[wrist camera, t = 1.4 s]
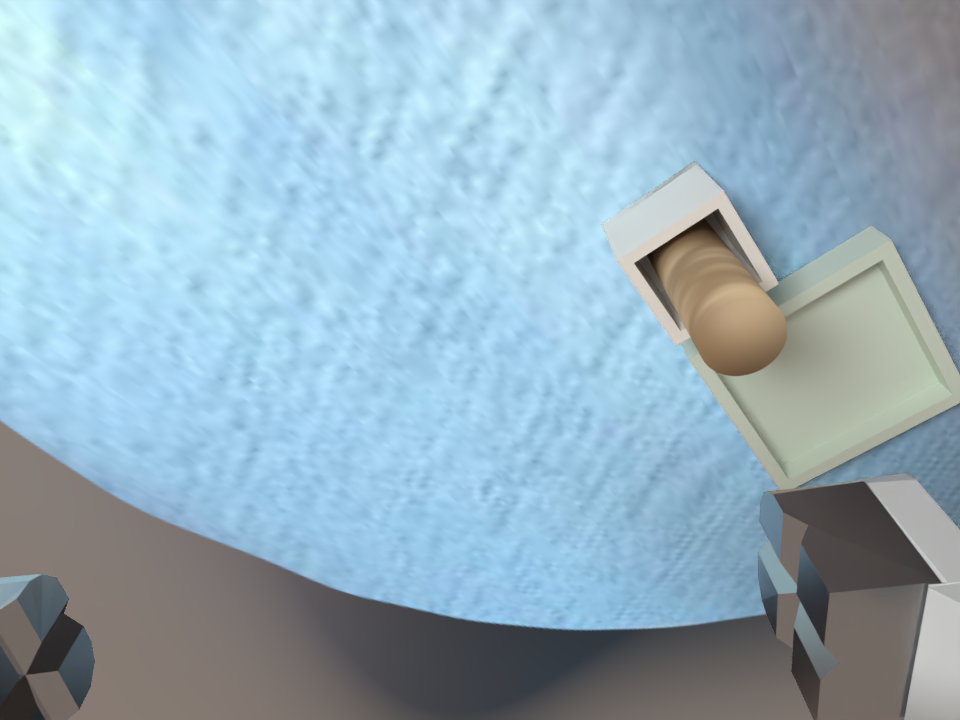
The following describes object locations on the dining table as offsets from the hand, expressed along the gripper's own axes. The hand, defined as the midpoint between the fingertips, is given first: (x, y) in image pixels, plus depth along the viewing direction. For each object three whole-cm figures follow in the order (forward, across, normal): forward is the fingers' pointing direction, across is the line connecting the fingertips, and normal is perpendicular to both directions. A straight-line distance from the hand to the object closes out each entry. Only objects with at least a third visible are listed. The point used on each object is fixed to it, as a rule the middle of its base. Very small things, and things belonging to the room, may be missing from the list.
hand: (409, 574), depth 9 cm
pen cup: (+34, -11, +8) cm, 36 cm away
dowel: (+33, -11, +8) cm, 36 cm away
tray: (+34, -19, +18) cm, 43 cm away
